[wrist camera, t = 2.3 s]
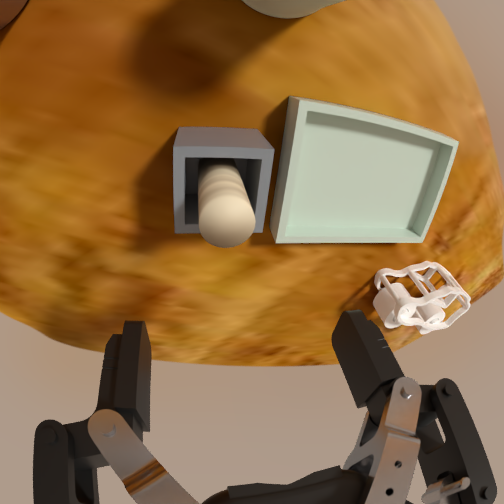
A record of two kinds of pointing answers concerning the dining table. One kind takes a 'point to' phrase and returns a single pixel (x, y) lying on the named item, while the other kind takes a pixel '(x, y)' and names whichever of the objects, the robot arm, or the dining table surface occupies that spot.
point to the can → (289, 7)
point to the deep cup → (219, 146)
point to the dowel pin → (223, 203)
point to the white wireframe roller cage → (418, 299)
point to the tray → (356, 176)
